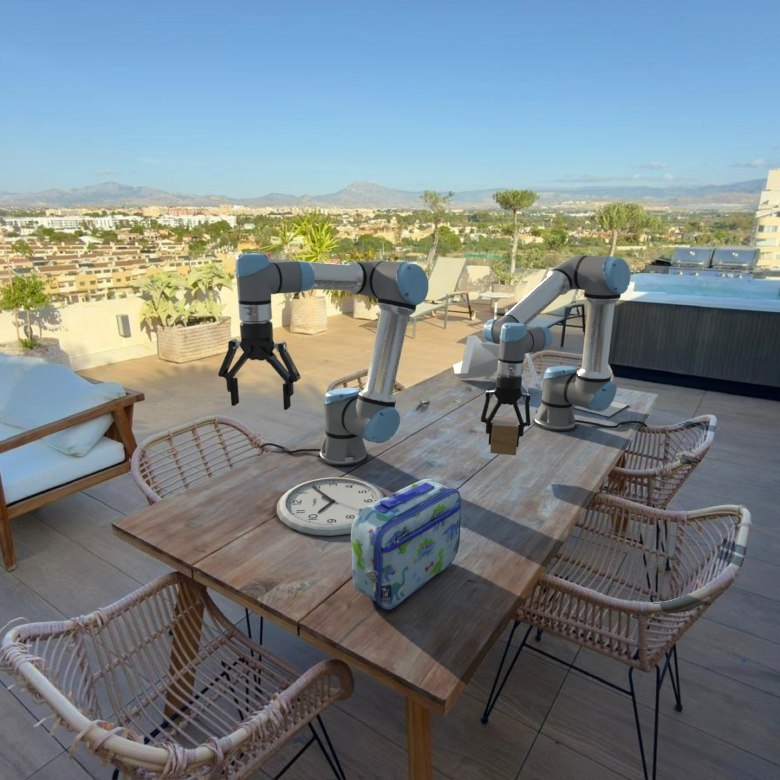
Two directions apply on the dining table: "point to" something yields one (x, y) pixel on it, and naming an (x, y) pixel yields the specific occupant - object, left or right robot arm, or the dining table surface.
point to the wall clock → (326, 505)
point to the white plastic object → (485, 361)
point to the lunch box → (405, 541)
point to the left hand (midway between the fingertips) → (261, 406)
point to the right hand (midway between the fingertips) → (503, 444)
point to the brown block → (504, 435)
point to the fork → (423, 402)
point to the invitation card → (609, 411)
